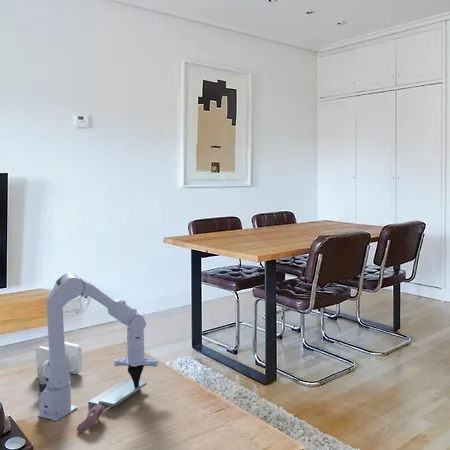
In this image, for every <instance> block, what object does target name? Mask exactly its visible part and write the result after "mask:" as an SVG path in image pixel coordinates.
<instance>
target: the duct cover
mask: <svg viewBox="0 0 450 450" xmlns="http://www.w3.org/2000/svg"><path fill="white" fill-rule="evenodd" d="M127 382H128V383H126V384H125V385H123V386H122V387H120V388H118V389H117V390H115V391H114V392H112V393H110V394H109V395H107V396H106V397H104V398H102V399H101V400H99V403H101V404H105V406H111V407H115V406H117V405H118V404H120V403H121V402H123V401H124V400H126V399H127V398H128V397H130V396H131V395H133V394H135V393H137V392H136V391H138V390H139V389H141V390H142V388H144V387H145V386H147V381H141V380H139V386H138V387H134V383H133V380H132V379H131V380H129V381H127Z"/></svg>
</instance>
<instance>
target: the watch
mask: <svg viewBox="0 0 450 450" xmlns="http://www.w3.org/2000/svg"><path fill="white" fill-rule="evenodd" d="M48 361H49V360H46V361H44V362H43V363H42V364H41V365H40V366H39V368H38V373H37V377H38V380H39V381H40V382H39V393H41V392H43V391H44V390H45V388H46V383H47V382H48V380H49V379H46V378H44V377H43V375H42V370H43V368H44V367H45V366H46V365H47V364H48Z"/></svg>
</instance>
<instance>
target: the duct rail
mask: <svg viewBox="0 0 450 450" xmlns="http://www.w3.org/2000/svg"><path fill="white" fill-rule="evenodd" d="M128 382H129V381H125V380H122V381H120V382H118V383H116V384H114V385H113V386H111V387H110V388H108V389H106V390H104V391H103V392H102V393H99V395H96V396H95V397H93V398H91V399H90V400H88V401H87V403H88V404H87V405H88V407H87V408H89V409H91V408H93V407H94V406H96V405H98V404H99V405H103V406H106V405H105V404H101V403H99V400H101V399H102V398H104V397H106V396H107V395H109V394H110V393H112V392H114V391H115V390H117V389H118V388H120V387H122V386H123V385H125V384H126V383H128ZM140 391H142V388H141V389H139V390H138V391H136V392H135V393H138V392H140Z"/></svg>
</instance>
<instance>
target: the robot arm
mask: <svg viewBox="0 0 450 450" xmlns="http://www.w3.org/2000/svg"><path fill="white" fill-rule="evenodd" d="M79 296H81V297H84V298H85V297H90V298H92V299H93V300H95V302H98V303H99V304H101V306H102V305H103V306H104V307H106V308H107V313H108V314H109V315H110V316H111V317H113V318H114V319H115V320H117V321H119V322H120V323H121V324H122V325H125V327H126V350H127V352H126V353H127V355H126V356H127V357H125V358H124V357H122V358H115V360H114V367H118V366H119V367H120V366H121V367H122V366H124V367H125V366H127V372H128V374H129V376H130V378H131V380H133V383H134V387H138V386H139V381H141V375H142V373H143V370H144V367H153V368H157V367H158V365H159V363H158V361H159V360H158V359H156V358H154V359H153V358H149V357H148V358H147V357H145V331H144V330H145V329H146V326H147V322H146V320H145V317H144V316H143V315H141V313H140V312H138V311H137V309H135V308H132V307H131V306H129V305H127V301H125V300H124V299H113V298H111V297H110V296H108V295H107V294H105V293H104V292H103V291H102V290H101V289H99V288H98V287H96V286H95V285H94V284H92V283H91V282H89V281H87V280H85V279H84V278H83V277H81V276H80V277H78V276H77V275H76V274H75V273H74V272H73V273H72V272H67V273H64V274H63V275H60V277H59V278H58V279H56V281H55V283H54V285H53V288H52V289H51V291H50V293H49V294H48V296H47V298H46V302H45V303H46V319H47V320H46V321H47V336H48V338H47V339H48V348H49V357H48V360H49V361H48V365H47V367H46V374H47V375H48V379H47V380H48V382H47V383H46V388H45V390H44V391H43V392H39V393H40V394H39V395H38V409H39V410H38V411H39V412H38V414H37V416H38V417H40V418H43V419H47V420H48V419H49V420H52V421H59V420H60V419H62V418H63V417H65V416H67V415H69V414H70V413H72V412H73V411H75V410H76V409H78V406H76V405H72V393H71V373H70V372H69V371H68V370H67V363H66V358H65V344H64V342H65V329H64V325H65V324H64V307H65V306H66V305H67V304H68V302H70V301H71V300H73V299H75V298H78V297H79Z"/></svg>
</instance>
